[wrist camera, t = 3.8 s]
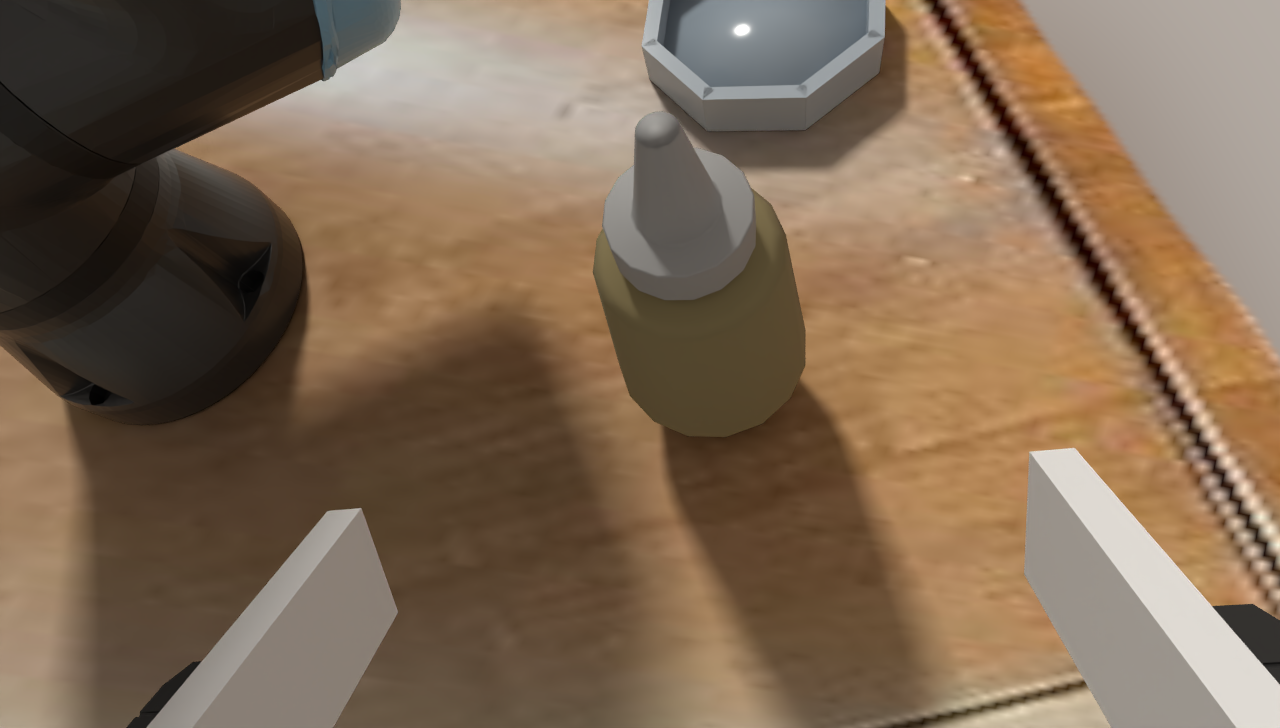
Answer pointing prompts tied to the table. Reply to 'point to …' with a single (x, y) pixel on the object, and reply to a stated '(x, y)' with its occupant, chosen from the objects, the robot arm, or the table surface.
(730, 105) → the octagonal tray
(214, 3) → the robot arm
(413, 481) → the table surface
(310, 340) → the table surface
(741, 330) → the squeeze bottle
